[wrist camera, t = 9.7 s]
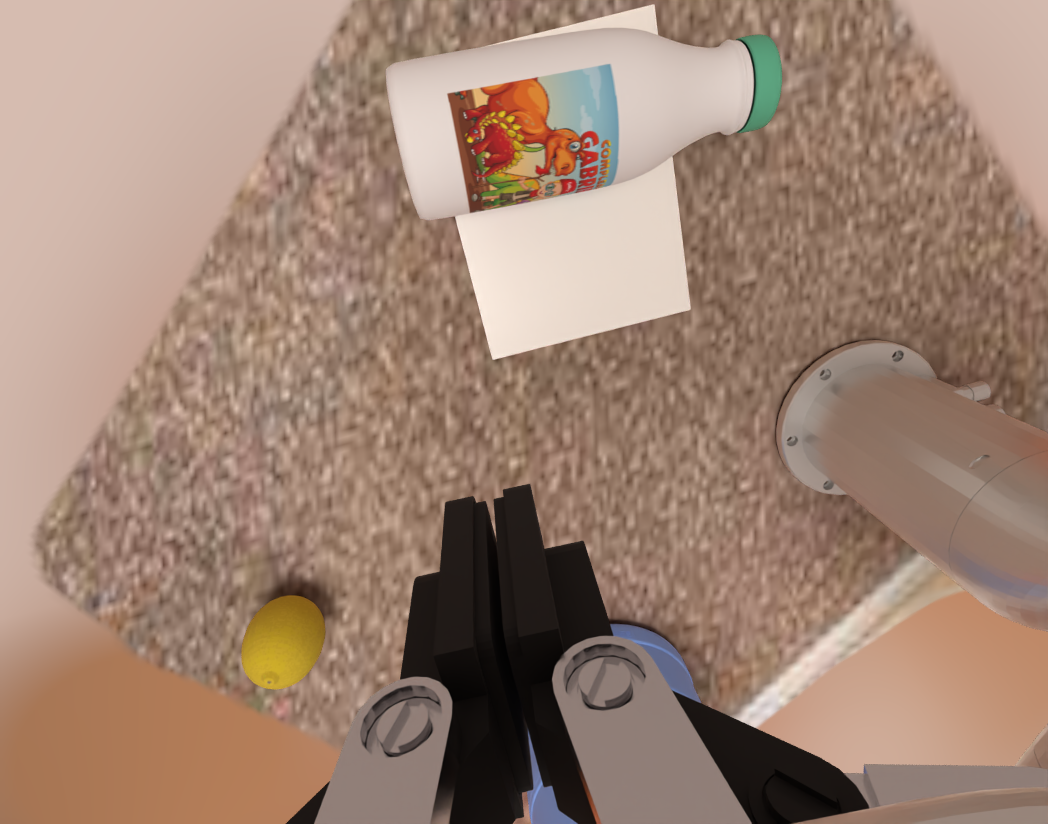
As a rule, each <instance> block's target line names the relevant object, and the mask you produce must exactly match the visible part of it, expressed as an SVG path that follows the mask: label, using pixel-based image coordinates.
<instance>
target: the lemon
mask: <svg viewBox="0 0 1048 824" xmlns="http://www.w3.org/2000/svg"><path fill="white" fill-rule="evenodd" d="M324 639H325V623H324V618H323V616H322V614H321V611H320V610H319V608H318V607H317V606H316V605H315V604H314V603H313V602H311V601H310V600H308V599H306V598H304V597H301V596H296V595H289V596H283V597H279V598H277V599H274V600H272V601H270V602H269V603H267V604H266V605H265V606H263V607H262V608H261V609H260V610H259V611H258V612H257V614H256V615H255V616H254V618H253V619H252V620H251V622H250V624H249V626H248V628H247V630H246V633H245V636H244V639H243V643H242V665H243V668H244V671H245V673H246V674H247V676H248V677H249V678H250V680H251V681H253V682H254V683H255V684H257V685H259V686H261V687H263V688H267V689H282V688H286V687H289V686H292V685H293V684H295V683H297V682H299V681H300V680H301V679H302V678H303V677H304V676H306V675H307V674H308V673H309V671H310V670H311V669H312V667H313V666H314V664H315V662H316V661H317V659H318V657H319V655H320V653H321V650H322V647H323V643H324Z"/></svg>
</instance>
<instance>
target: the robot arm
mask: <svg viewBox="0 0 1048 824" xmlns="http://www.w3.org/2000/svg"><path fill="white" fill-rule="evenodd" d="M990 394H991V390H990V387H989V385H988V384H987V383H985V382H984V381H978V382H974V383H970V384H966V385H963V386H962V387H958V388H957V387H955V386H952V385H950V384H948V383H945V382H943V381H941V380H938V379H937V378H936V375H935V372H934V371H933V369H932V368H931V366H930V365H929V363H928V362H927V361H926V360H925V359H924V358H923V357H922V356H921V355H919V354H918V353H917V352H915V351H913V350H911V349H909V348H907V347H905V346H902V345H899V344H896V343H894V342H889V341H882V340H867V341H859V342H855V343H851V344H847V345H845V346H842V347H840V348H838V349H836V350H833V351H831V352H829V353H828V354H826V355H825V356H823V357H822V358H820V359H819V360H817V361H816V362H815V363H813V364H812V365H811V366H810V367H809V368H808V369H807V370H806V371H805V372H803V374H802V375H801V376H800V377H799V379H798V380H797V381H796V382H795V383H794V385H793V386H792V388H791V389H790V391H789V393H788V394H787V396H786V398H785V400H784V402H783V405H782V408H781V410H780V413H779V417H778V422H777V428H776V438H777V446H778V450H779V455H780V457H781V459H782V461H783V463H784V465H785V466H786V468H787V469H788V470H789V471H790V472H791V474H792V475H793V476H794V477H796V478H797V479H798V480H799V481H800V482H801V483H803V484H804V485H806V486H808V487H809V488H811V489H813V490H815V491H818V492H821V493H825V494H833V495H847V494H848V495H849V496H850V497H851V498H853V499H854V500H855V501H856V502H858V503H859V504H860V505H861V506H863V507H864V508H865V509H866V510H867V511H869V512H870V513H871V514H872V515H874V516H875V517H876V518H877V519H878V520H880V521H881V522H882V523H883V524H885V525H886V526H887V527H888V528H889V529H891V530H892V531H893V532H894V533H896V534H897V535H898V536H899V537H901V538H902V539H903V540H904V541H905V542H907V543H908V544H909V545H910V546H912V547H913V548H914V549H915V550H916V551H918V552H919V553H920V554H921V555H923V556H924V557H925V558H926V559H927V560H929V561H930V562H931V563H932V564H934V565H935V566H936V567H937V568H939V569H940V570H941V571H942V572H943V573H945V574H946V575H947V576H948V577H950V578H951V579H952V580H953V581H954V582H956V583H957V584H958V585H959V586H961V587H962V588H963V589H964V590H966V591H967V592H968V593H970V594H971V595H972V596H973V597H975V598H976V599H977V600H978V601H979V602H981V603H982V604H983V605H985V606H986V607H988V608H989V609H991V610H992V611H994V612H995V613H997V614H999V615H1001V616H1003V617H1005V618H1007V619H1009V620H1011V621H1013V622H1016V623H1019V624H1021V625H1024V626H1027V627H1030V628H1034V629H1039V630H1043V631H1048V433H1047V432H1045V431H1043V430H1040V429H1038V428H1036V427H1034V426H1031V425H1029V424H1027V423H1024V422H1022V421H1020V420H1017V419H1015V418H1013V417H1011V416H1008V415H1006V414H1005V412H1004V411H1003V409H1002V408H1001V407H999V406H998V405H994V404H991V405H987V406H985V405H983V404H981V403H978V402H976V401H980V400H984V399H987V398H989V397H990ZM503 495H504V497H501V498H497V499H494V511H495V525H496V538H497V542H496V538H495V534H494V530H493V526H492V522H491V518H490V515H489V511H488V507H487V504H486V501H483V502H478V503H476V501H475V498H474V496H471V497H467V498H462V499H457V500H453V501H448V502H446V503H445V512H444V525H443V537H442V550H441V563H440V572H437V573H432V574H427V575H423V576H418V577H416V578H415V581H414V585H413V592H412V599H411V606H410V613H409V620H408V627H407V634H406V641H405V648H404V655H403V663H402V670H401V677H400V680H398V681H396V682H394V683H392V684H389V685H387V686H385V687H383V688H382V689H381V690H379V691H378V692H377V693H375V694H374V695H373V696H371V697H370V698H369V699H368V700H367V702H366V703H365V704H364V705H363V706H362V707H361V708H360V709H359V711H358V713H357V715H356V717H355V719H354V721H353V722H352V725H351V727H350V730H349V732H348V735H347V738H346V740H345V743H344V746H343V748H342V751H341V754H340V756H339V759H338V762H337V764H336V767H335V770H334V773H333V775H332V778H331V780H330V781H329V782H328V783H327V784H326V785H325V786H324V787H323V788H322V789H321V790H320V791H319V792H318V793H317V794H316V795H315V796H314V797H313V798H312V799H311V800H310V801H309V802H308V803H307V804H306V805H305V806H304V807H303V808H301V809H300V811H298V812H297V813H296V814H295V815H294V816H293V817H292V818H291V819H290V820H289V821H288V822H287V823H286V824H513V822H514V821H515V820H516V819H517V818H521V817H524V812H523V800H522V792H526V791H531V790H533V775H532V765H531V756H530V746H529V737H528V732H529V735H530V739H531V743H532V746H533V750H534V754H535V757H536V761H537V765H538V768H539V772H540V776H541V780H542V783H543V786H544V788H545V787H549V786H552V788H553V792H554V795H555V799H556V803H557V807H558V810H559V811H560V812H562V813H563V814H565V815H566V816H568V817H569V818H570V819H572V820H573V821H575V822H576V823H578V824H1048V724H1047V726H1046V727H1045V728H1044V729H1043V730H1042V731H1041V732H1040V734H1039V735H1038V736H1037V737H1036V738H1035V740H1034V742H1033V743H1032V744H1031V745H1030V746H1029V747H1028V749H1027V750H1026V751H1025V752H1024V754H1023V755H1022V756H1021V758H1020V759H1019V760H1018V762H1017V763H1016V765H1015V766H958V765H956V766H955V765H954V766H953V765H878V764H865V765H864V774H859V773H857V774H856V773H843V772H842V771H841V770H840V769H838V768H836V767H835V766H833V765H831V764H830V763H828V762H826V761H825V760H823V759H821V758H820V757H818V756H815V755H813V754H811V753H809V752H807V751H804V750H802V749H800V748H798V747H796V746H793V745H791V744H789V743H787V742H785V741H782V740H780V739H778V738H776V737H774V736H772V735H769V734H767V733H765V732H763V731H760V730H758V729H756V728H754V727H752V726H750V725H747V724H745V723H743V722H741V721H739V720H736V719H734V718H732V717H730V716H728V715H726V714H723V713H721V712H719V711H717V710H715V709H712V708H710V707H708V706H706V705H704V704H701V703H699V702H697V701H695V700H693V699H690V698H688V697H686V696H684V695H682V694H679V693H677V692H675V691H673V690H671V688H670V687H669V685H668V683H667V682H666V680H665V678H664V677H663V675H662V674H661V672H660V670H659V669H658V667H657V665H656V664H655V662H654V660H653V659H652V657H651V656H650V655H649V654H648V653H647V651H646V650H645V649H644V648H643V647H641V646H640V645H638V644H636V643H635V642H633V641H631V640H628V639H625V638H621V637H617V636H614V635H613V632H612V629H611V626H610V623H609V619H608V616H607V613H606V610H605V607H604V604H603V600H602V597H601V594H600V591H599V588H598V585H597V581H596V578H595V575H594V572H593V569H592V566H591V562H590V559H589V556H588V553H587V550H586V547H585V544H584V541H579V542H575V543H570V544H566V545H561V546H556V547H552V548H547V549H544V545H543V540H542V536H541V531H540V527H539V522H538V517H537V513H536V508H535V504H534V499H533V495H532V490H531V486H530V484H527V485H522V486H517V487H513V488H508V489H504V490H503Z"/></svg>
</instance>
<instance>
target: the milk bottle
mask: <svg viewBox="0 0 1048 824" xmlns="http://www.w3.org/2000/svg"><path fill="white" fill-rule="evenodd" d="M386 82H387V91H388V98H389V105H390V110H391V115H392V120H393V124H394V130H395V134H396V138H397V143H398V147H399V152H400V156H401V160H402V164H403V168H404V171H405V176H406V180H407V182H408V186H409V190H410V193H411V197H412V200H413V202H414V205H415V208H416V210H417V213H418V215H419V217H420V218H421V219H425V220H434V219H441V218H447V217H453V216H458V215H464V214H469V213H475V212H480V211H485V210H491V209H496V208H501V207H507V206H512V205H517V204H523V203H528V202H533V201H539V200H544V199H549V198H554V197H559V196H564V195H569V194H574V193H579V192H584V191H589V190H593V189H598V188H602V187H606V186H611V185H615V184H619V183H622V182H625V181H628V180H631V179H634V178H636V177H639V176H641V175H643V174H645V173H647V172H649V171H651V170H652V169H654V168H656V167H657V166H659V165H660V164H662V163H663V162H665V161H666V160H667V159H669V158H670V157H672V156H673V155H674V154H676V153H677V152H679V151H680V150H682V149H683V148H685V147H686V146H688V145H690V144H691V143H693V142H695V141H697V140H699V139H701V138H703V137H705V136H707V135H710V134H713V133H716V132H721V133H722V134H724V135H731V134H732V133H734V132H737V133H742V132H749V131H753V130H757V129H760V128H762V127H764V126H766V125H767V124H768V123H769V122H770V120H771V119H772V117H773V115H774V113H775V111H776V109H777V106H778V103H779V99H780V94H781V86H782V67H781V60H780V56H779V52H778V49H777V47H776V45H775V43H774V42H773V40H772V39H771V38H770V37H768V36H766V35H751V36H746V37H741V38H738V39H736V40H726V41H724V42H722V43H721V45H720V46H719V47H714V48H704V47H697V46H691V45H686V44H682V43H679V42H675V41H673V40H670V39H667V38H664V37H662V36H659V35H656V34H653V33H650V32H647V31H643V30H638V29H630V28H600V29H592V30H584V31H576V32H569V33H563V34H557V35H551V36H544V37H538V38H532V39H526V40H520V41H514V42H508V43H502V44H496V45H491V46H485V47H479V48H473V49H467V50H462V51H456V52H450V53H445V54H439V55H433V56H428V57H422V58H416V59H411V60H406V61H402V62H397V63H393V64H392V65H391V66H389V67H388V68H386Z"/></svg>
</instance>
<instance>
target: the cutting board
mask: <svg viewBox="0 0 1048 824" xmlns="http://www.w3.org/2000/svg"><path fill="white" fill-rule="evenodd" d="M600 28H630V29H638V30H643V31H647V32H650V33H653V34H656V35H658V31H657V23H656V14H655V6H654V4H653V5H649V6H645V7H641V8H637V9H633V10H629V11H625V12H621V13H617V14H613V15H609V16H605V17H601V18H597V19H593V20H589V21H585V22H581V23H577V24H573V25H569V26H565V27H561V28H557V29H553V30H549V31H545V32H540V33H536V34H532V35H528V36H524V37H520V38H516V39H512V40H508V41H504V42H500V43H496V44H502V43H508V42H514V41H520V40H526V39H532V38H538V37H544V36H551V35H557V34H563V33H569V32H576V31H584V30H592V29H600ZM496 44H492V45H496ZM488 46H491V45H488ZM484 47H485V46H484ZM455 219H456V222H457V226H458V230H459V234H460V238H461V241H462V245H463V249H464V253H465V257H466V260H467V264H468V268H469V272H470V276H471V279H472V283H473V287H474V291H475V295H476V298H477V302H478V306H479V310H480V314H481V317H482V321H483V325H484V329H485V333H486V336H487V340H488V344H489V348H490V352H491V355H492V359H493V360H494V359H498V358H502V357H506V356H510V355H514V354H518V353H522V352H526V351H529V350H533V349H537V348H541V347H545V346H549V345H553V344H557V343H561V342H565V341H569V340H573V339H577V338H581V337H585V336H589V335H593V334H597V333H601V332H605V331H609V330H613V329H616V328H620V327H624V326H628V325H632V324H636V323H640V322H644V321H648V320H652V319H656V318H660V317H664V316H668V315H672V314H676V313H680V312H684V311H688V310H691V308H690V299H689V291H688V283H687V274H686V266H685V257H684V249H683V241H682V232H681V224H680V215H679V207H678V199H677V190H676V182H675V173H674V165H673V157H670V158H669V159H667V160H666V161H665V162H663V163H662V164H660V165H659V166H657V167H656V168H654V169H652V170H651V171H649V172H647V173H645V174H643V175H641V176H639V177H636V178H634V179H631V180H628V181H625V182H622V183H619V184H615V185H611V186H606V187H602V188H598V189H593V190H589V191H584V192H579V193H574V194H569V195H564V196H559V197H554V198H549V199H544V200H539V201H533V202H528V203H523V204H517V205H512V206H507V207H501V208H496V209H491V210H485V211H480V212H475V213H469V214H464V215H458V216H455Z"/></svg>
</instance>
